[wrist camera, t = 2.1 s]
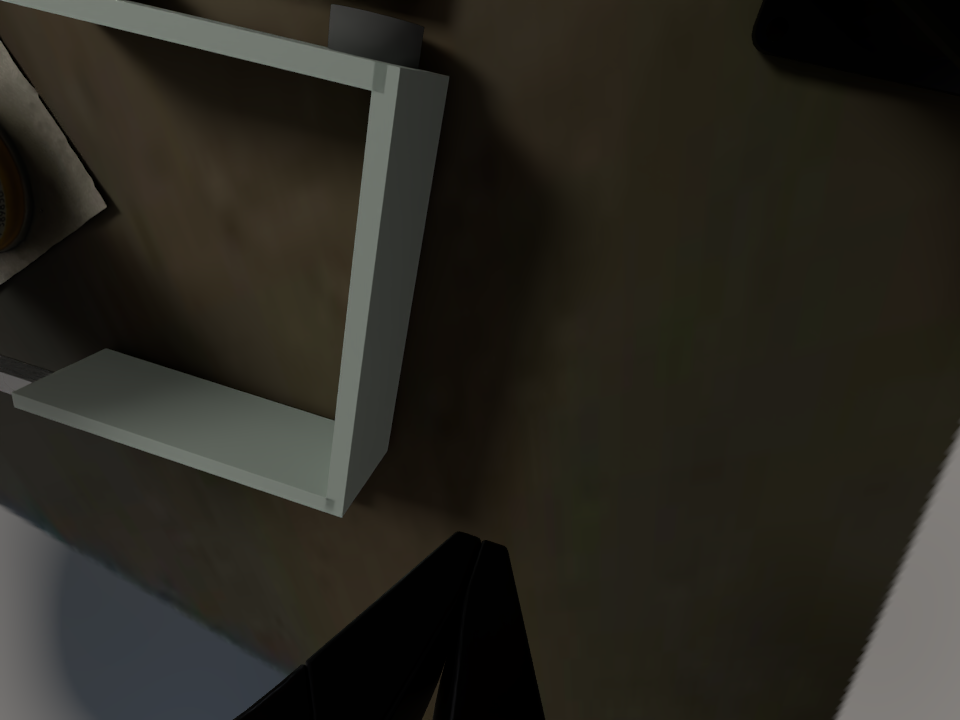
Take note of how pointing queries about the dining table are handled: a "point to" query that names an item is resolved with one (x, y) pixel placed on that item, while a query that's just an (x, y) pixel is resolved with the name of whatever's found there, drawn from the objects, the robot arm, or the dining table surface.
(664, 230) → the dining table surface
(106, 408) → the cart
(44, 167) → the condiment
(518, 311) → the dining table surface
